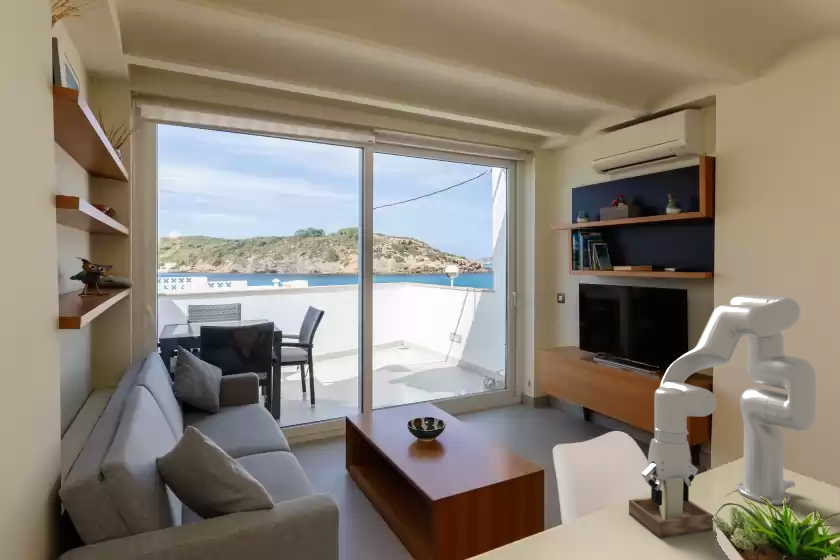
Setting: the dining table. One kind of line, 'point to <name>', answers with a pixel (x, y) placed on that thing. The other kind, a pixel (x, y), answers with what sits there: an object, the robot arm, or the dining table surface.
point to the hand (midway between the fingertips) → (669, 500)
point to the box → (652, 520)
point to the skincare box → (672, 499)
